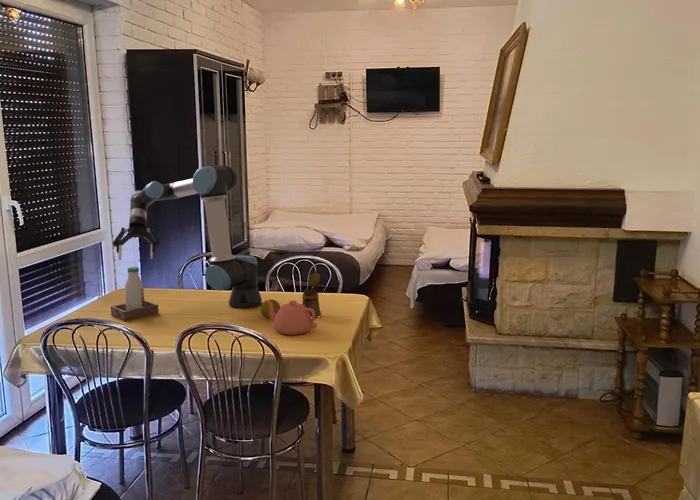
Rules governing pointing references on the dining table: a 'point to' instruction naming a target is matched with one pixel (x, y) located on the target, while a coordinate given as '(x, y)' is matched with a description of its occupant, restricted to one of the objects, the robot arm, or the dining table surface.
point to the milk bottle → (134, 290)
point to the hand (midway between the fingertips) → (135, 258)
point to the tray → (134, 311)
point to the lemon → (266, 310)
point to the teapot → (292, 318)
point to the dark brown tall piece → (312, 294)
